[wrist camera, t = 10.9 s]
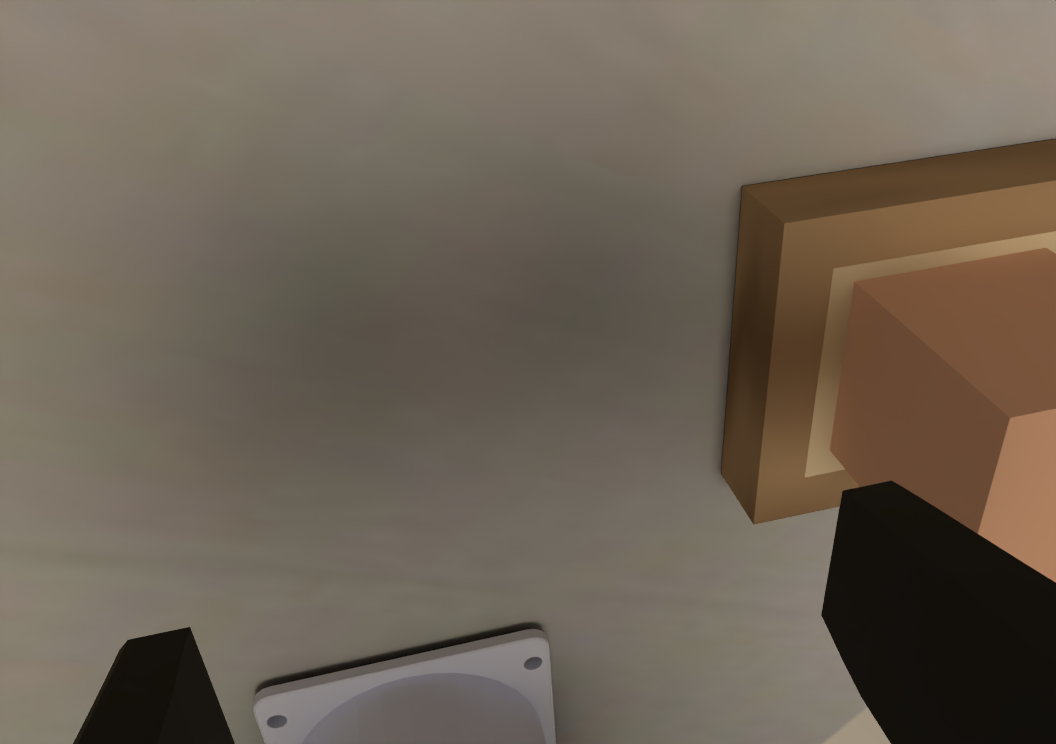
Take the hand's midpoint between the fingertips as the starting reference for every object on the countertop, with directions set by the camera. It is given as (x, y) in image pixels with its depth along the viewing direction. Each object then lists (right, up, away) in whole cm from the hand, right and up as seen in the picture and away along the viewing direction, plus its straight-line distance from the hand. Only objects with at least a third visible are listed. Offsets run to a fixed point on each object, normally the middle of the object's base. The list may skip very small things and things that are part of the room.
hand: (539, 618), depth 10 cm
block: (+9, +3, +11) cm, 14 cm away
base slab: (+9, +4, +12) cm, 16 cm away
